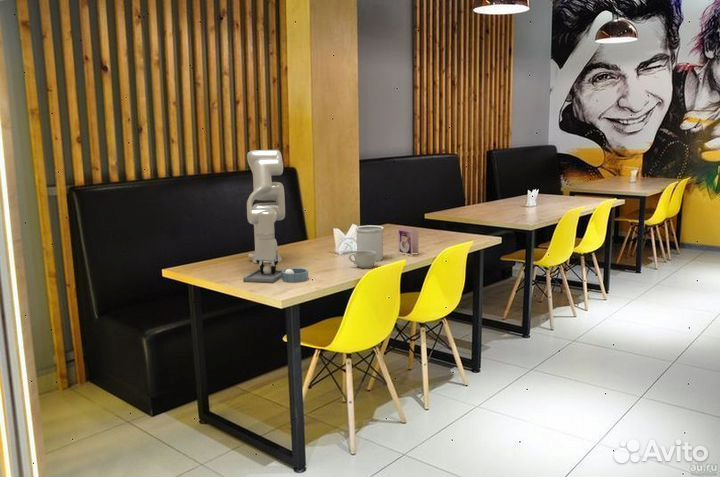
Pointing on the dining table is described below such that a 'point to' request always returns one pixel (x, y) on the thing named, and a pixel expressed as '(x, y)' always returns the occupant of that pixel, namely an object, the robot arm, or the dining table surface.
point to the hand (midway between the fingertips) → (268, 273)
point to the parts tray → (263, 277)
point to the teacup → (364, 258)
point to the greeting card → (408, 240)
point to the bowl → (295, 275)
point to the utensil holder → (370, 239)
